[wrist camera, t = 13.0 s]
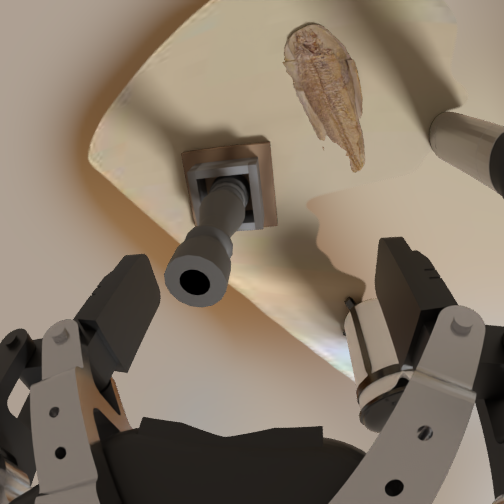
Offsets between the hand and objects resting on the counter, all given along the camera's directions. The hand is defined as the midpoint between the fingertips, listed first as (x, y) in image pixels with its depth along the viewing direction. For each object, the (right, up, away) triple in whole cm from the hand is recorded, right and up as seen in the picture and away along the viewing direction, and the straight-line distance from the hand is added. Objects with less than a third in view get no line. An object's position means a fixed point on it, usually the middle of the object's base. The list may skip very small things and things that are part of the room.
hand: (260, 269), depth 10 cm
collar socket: (-4, +11, +39) cm, 40 cm away
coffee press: (+26, -14, +51) cm, 59 cm away
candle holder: (-4, +11, +37) cm, 39 cm away
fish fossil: (+12, +24, +31) cm, 41 cm away
